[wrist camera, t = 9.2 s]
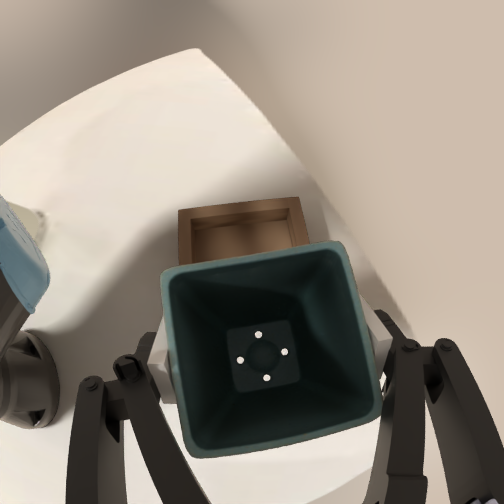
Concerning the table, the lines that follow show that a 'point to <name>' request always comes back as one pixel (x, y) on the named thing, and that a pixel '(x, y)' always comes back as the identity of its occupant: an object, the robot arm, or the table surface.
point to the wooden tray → (239, 229)
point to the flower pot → (268, 349)
